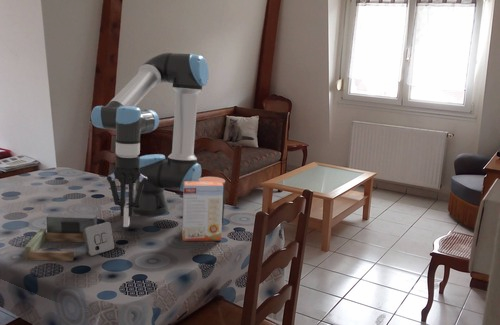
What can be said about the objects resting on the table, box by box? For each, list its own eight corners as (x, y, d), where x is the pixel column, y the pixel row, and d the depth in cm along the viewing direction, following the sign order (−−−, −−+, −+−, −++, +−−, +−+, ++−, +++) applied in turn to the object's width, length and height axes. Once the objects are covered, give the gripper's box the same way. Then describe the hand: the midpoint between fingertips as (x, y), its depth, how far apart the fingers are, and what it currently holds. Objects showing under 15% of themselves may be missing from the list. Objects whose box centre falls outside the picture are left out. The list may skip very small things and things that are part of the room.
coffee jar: (196, 219, 207) (198, 176, 203) (222, 220, 208) (225, 177, 204) (195, 228, 196) (197, 183, 192) (223, 229, 197) (225, 184, 193)
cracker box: (219, 235, 191) (222, 180, 187) (221, 241, 186) (224, 185, 181) (181, 235, 189) (183, 180, 184) (182, 241, 183) (184, 184, 179)
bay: (85, 240, 179) (85, 229, 178) (72, 260, 162) (72, 248, 161) (41, 239, 177) (41, 228, 176) (24, 259, 161) (24, 247, 160)
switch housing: (97, 235, 183) (97, 214, 182) (94, 240, 179) (93, 218, 177) (50, 234, 182) (50, 212, 180) (46, 239, 177) (46, 217, 176)
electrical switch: (90, 257, 166) (89, 229, 164) (81, 253, 169) (79, 226, 167) (115, 249, 173) (113, 222, 171) (105, 246, 176) (104, 220, 175)
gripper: (149, 154, 168) (147, 222, 173) (109, 152, 167) (108, 221, 172) (147, 158, 161) (145, 230, 166) (104, 156, 160) (103, 228, 165)
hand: (126, 225), depth 169 cm, fingers closed
